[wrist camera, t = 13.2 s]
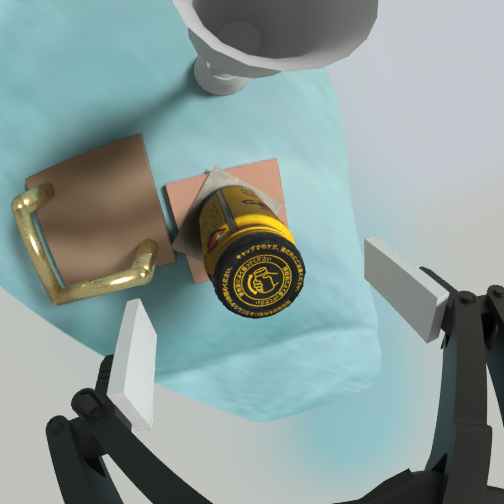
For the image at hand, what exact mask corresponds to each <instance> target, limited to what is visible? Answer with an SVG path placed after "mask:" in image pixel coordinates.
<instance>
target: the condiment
mask: <svg viewBox="0 0 504 504" xmlns="http://www.w3.org/2000/svg"><path fill="white" fill-rule="evenodd" d="M283 205H284V204H283V203H281V202H279V201H278V200H276V199H274V198H273V197H271V196H269V195H267V194H266V193H264V192H262V191H260V190H259V189H257V188H255V187H253V186H251V185H250V184H248V183H246V182H244V181H242V180H241V179H239V178H237V177H235V176H233V175H231V174H229V173H228V172H226V171H224V170H222V169H220V168H218V167H216V166H214V167H213V169H212V171H211V172H210V174H209V176H208V178H207V179H206V181H205V183H204V185H203V187H202V189H201V190H200V192H199V194H198V196H197V197H196V199H195V201H194V203H193V205H192V207H191V209H190V211H189V213H188V215H187V217H186V218H185V220H184V222H183V224H182V226H181V228H180V229H179V232H178V234H177V236H176V238H175V240H174V242H173V244H172V246H171V247H172V249H173V250H175V251H178V252H181V253H183V254H185V255H187V256H190V257H192V258H194V259H197V260H199V261H201V262H203V263H204V267H205V271H206V273H207V275H208V277H209V279H210V281H211V282H212V283H213V286H214V287H215V293H216V294H217V296H218V299H219V300H220V301H221V302H222V303H223V305H224V306H225V307H226V308H227V309H228V310H230V311H232V312H233V313H235V314H238V315H240V316H242V317H247V318H253V319H258V318H263V317H268V316H272V315H274V314H276V313H278V312H280V311H282V310H283V309H285V308H286V307H288V306H290V304H291V303H292V302H293V301H294V300H295V298H296V297H297V296H298V294H299V293H300V291H301V289H302V287H303V281H304V276H305V273H306V272H305V266H304V263H303V259H302V257H301V254H300V252H299V251H298V250H297V248H296V247H295V241H294V238H293V236H292V234H291V233H290V231H289V229H288V228H287V227H286V225H285V224H284V222H283V221H281V220H280V219H279V218H278V217H277V214H278V212H279V211H280V209H281V208H282V206H283Z"/></svg>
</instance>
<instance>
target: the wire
mask: <svg viewBox="0 0 504 504" xmlns="http://www.w3.org/2000/svg"><path fill="white" fill-rule="evenodd" d="M54 195H55V190H54V187H53V185H52V184H51V183H49V182H45V183H42V184H40V185H38V186H36V187H34V188H32V189H30V190H28V191H26V192H24V193H22V194H21V195H19V196H17V197H15V198H14V199H13V201H12V204H11V209H12V213H13V215H14V218H15V221H16V224H17V226H18V229H19V232H20V234H21V237H22V239H23V242H24V244H25V247H26V249H27V251H28V254H29V256H30V258H31V261H32V263H33V265H34V267H35V270H36V272H37V274H38V276H39V278H40V280H41V282H42V284H43V286H44V288H45V290H46V292H47V294H48V296H49V298H50V300H51V302H52V303H53V304H54V305H56V306H60V305H64V304H68V303H72V302H76V301H80V300H84V299H88V298H92V297H95V296H99V295H103V294H107V293H111V292H115V291H119V290H123V289H127V288H131V287H135V286H139V285H140V286H144V285H147V284H149V283H150V282H151V281H152V278H153V273H154V268H155V264H156V259H157V255H158V250H159V247H158V244H157V243H156V242H155V241H154V240H152V239H145V240H143V241H142V242H141V244H140V246H139V249H138V251H137V254H136V256H135V259H134V262H133V265H132V267H131V268H130V269H127V270H123V271H119V272H115V273H112V274H108V275H104V276H101V277H97V278H93V279H90V280H86V281H83V282H79V283H75V284H72V285H68V286H65V287H61V286H60V284H59V282H58V280H57V278H56V275H55V273H54V271H53V269H52V267H51V264H50V262H49V260H48V258H47V255H46V253H45V250H44V248H43V246H42V243H41V241H40V238H39V236H38V233H37V230H36V228H35V225H34V222H33V220H32V217H31V213H32V212H34V211H35V210H37V209H38V208H40V207H41V206H43V205H44V204H46V203H47V202H49V201H51V200H52V199H53V197H54Z"/></svg>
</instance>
